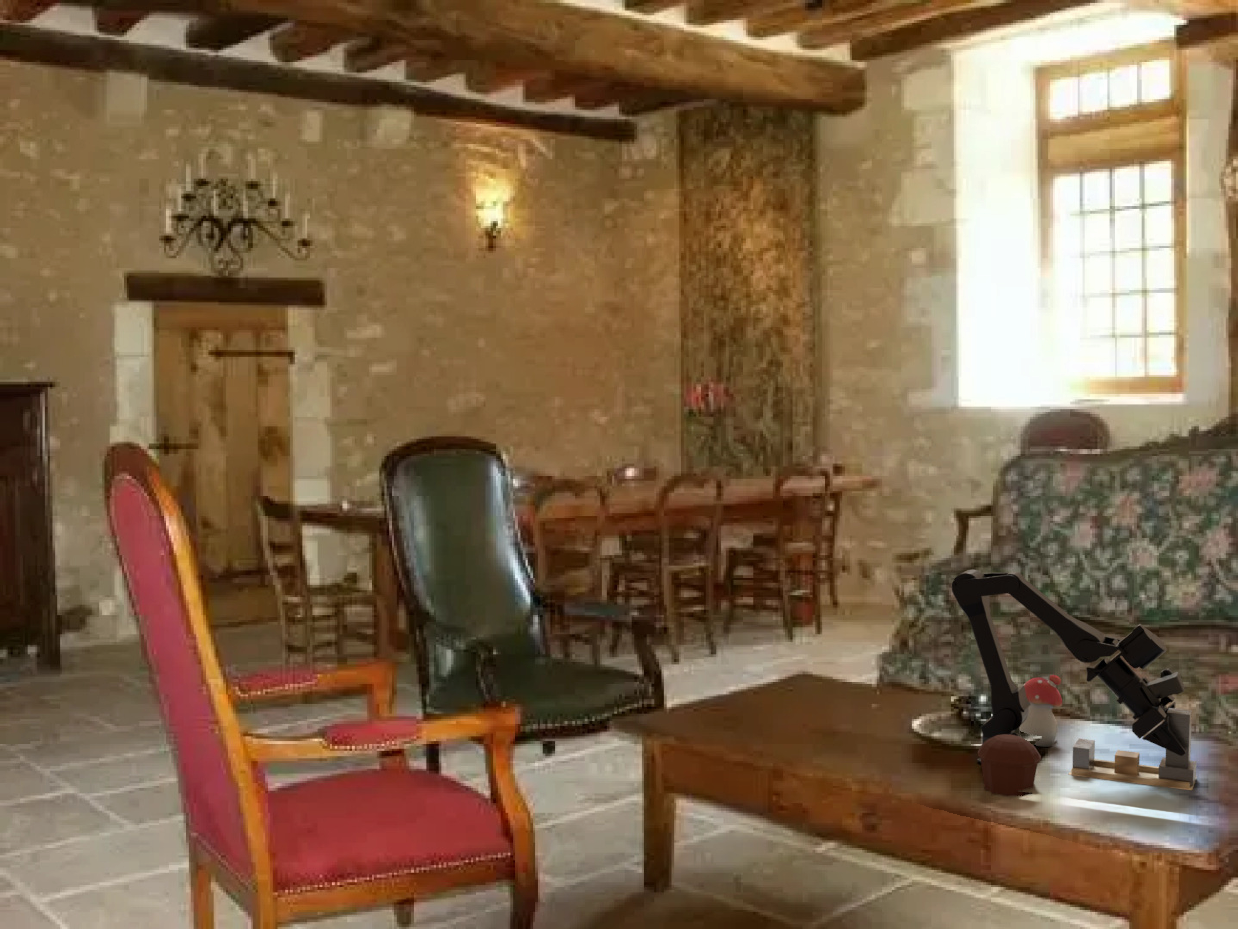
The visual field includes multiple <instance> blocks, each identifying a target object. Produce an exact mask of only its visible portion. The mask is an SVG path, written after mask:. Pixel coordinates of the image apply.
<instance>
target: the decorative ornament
mask: <svg viewBox="0 0 1238 929" xmlns="http://www.w3.org/2000/svg"><path fill="white" fill-rule="evenodd" d="M1061 684H1062V679H1061V677H1059V676H1058V675H1056V674H1050V676H1049V678H1048V679H1047V678H1043V677H1032V678H1030V679H1029V680H1027V681H1026V682H1025V683H1024V684H1022V686H1024V687H1025V692H1026V697H1027V699H1028V701H1029V702H1030V704H1031V705H1030V706H1029V707H1028V709H1029V714H1028V717H1027V718H1026V720H1025V721H1024V722H1023V723H1022V724H1021V726H1020V727H1018V729H1019V732H1020V731H1021V732H1024V733H1027V734H1031V735H1032V734H1033V735H1037V736H1042V739H1040V740H1039V741H1037V742H1036V743H1035V745H1036V746H1035V747H1053V745H1054V744H1055V740H1056V737H1057V735H1058V734H1057V733H1058V723H1057V720H1056V717H1055V715H1054V713H1053V710H1052V709H1053V708H1060V707H1062V706H1063V698H1062V696H1061V693H1060V691H1059V689H1057V686H1059V685H1061Z"/></svg>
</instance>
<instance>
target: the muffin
mask: <svg viewBox="0 0 1238 929" xmlns="http://www.w3.org/2000/svg"><path fill="white" fill-rule="evenodd" d="M977 755H978V757H979V759H981V763H980V764H981V770H982V771H981V772H982V777H983V786H984V790H986V791H988V792H990V793H992V794H994V795H1000V796H1003V797H1004V796H1005V797H1025V796H1028V795H1032V794H1033V792H1029V791H1026V790H1028V789H1033V788H1034V783H1035V780H1036V775H1037V774H1036V773H1037V767H1038V764H1039V763H1040V762H1041V760H1042V756H1041V754H1040V753H1039V751H1038V749H1037V748H1036V746H1034V745H1033V744H1031V743H1030V742H1029V741H1027V740H1025V739H1024V738H1022V737H1021V736H1019V735H1018V736H1015V735H1009V734H1003V735H996V736H994V737H992V738H990V739H988V740H986V741H985V742H984V743H983V742H982V744H981V745H980V747H979V748H978V750H977Z"/></svg>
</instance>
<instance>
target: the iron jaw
mask: <svg viewBox="0 0 1238 929" xmlns="http://www.w3.org/2000/svg"><path fill="white" fill-rule="evenodd" d="M1095 742H1096V740H1095V739H1085V738H1078V739H1077V740H1076V742H1075V743H1074V744H1073V747H1072V768H1079V769H1087V770H1092V768H1093V767H1094V759H1095V753H1096V752H1095V749H1096V748H1095V746H1096V745H1095V744H1096V743H1095Z"/></svg>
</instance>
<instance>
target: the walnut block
mask: <svg viewBox="0 0 1238 929" xmlns="http://www.w3.org/2000/svg"><path fill="white" fill-rule="evenodd" d="M1114 761H1115V767H1114V773H1119V774H1127V775H1135V776H1138V774H1139V765H1140V752H1135V751H1129V750H1128V751H1127V750H1121V749H1117V750H1116V752H1115V755H1114Z"/></svg>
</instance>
